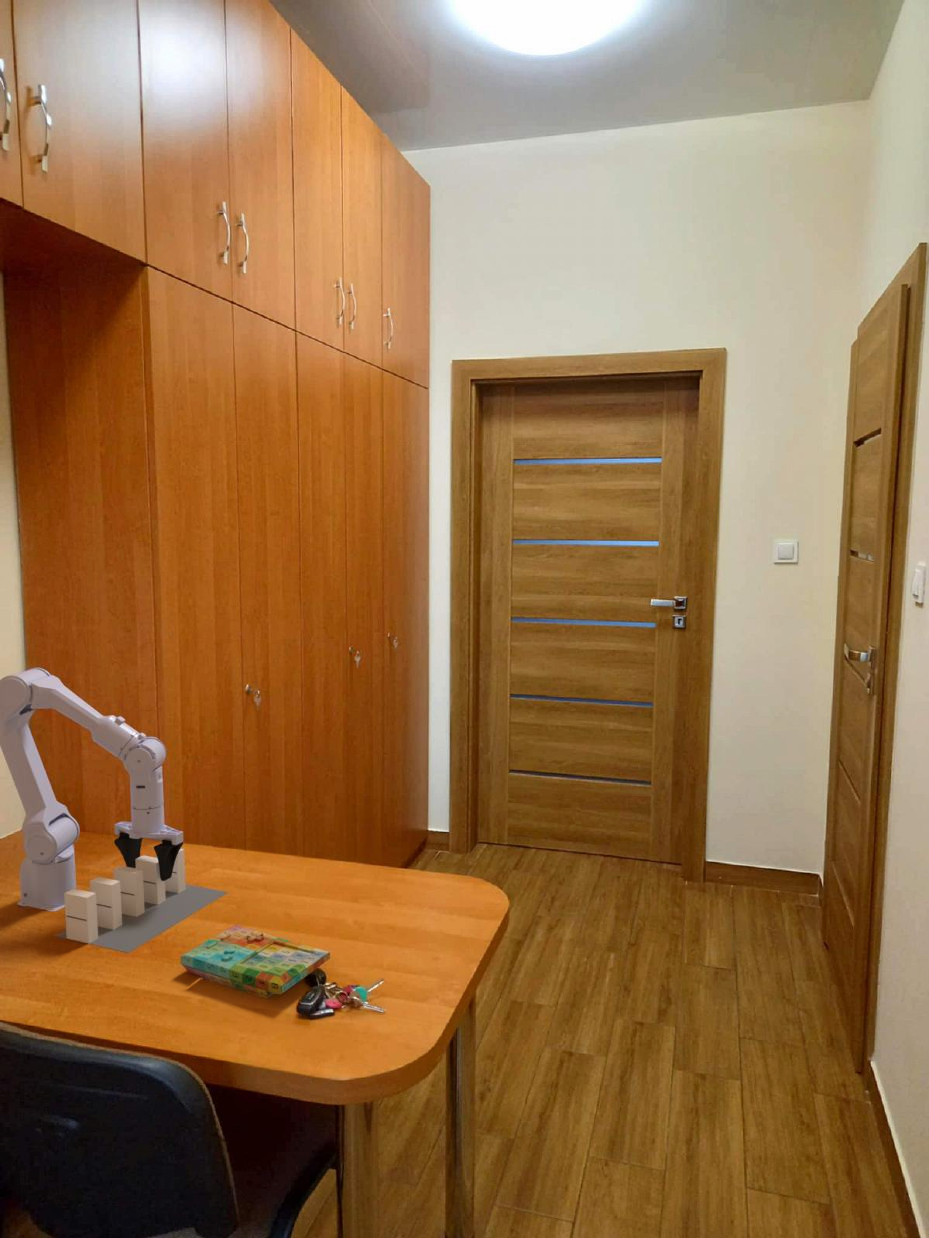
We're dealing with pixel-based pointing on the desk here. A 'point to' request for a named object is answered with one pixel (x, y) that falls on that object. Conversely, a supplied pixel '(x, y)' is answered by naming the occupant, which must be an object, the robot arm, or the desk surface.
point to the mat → (154, 919)
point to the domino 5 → (177, 875)
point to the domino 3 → (130, 890)
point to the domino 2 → (107, 902)
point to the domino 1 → (81, 915)
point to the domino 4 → (151, 880)
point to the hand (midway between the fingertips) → (150, 875)
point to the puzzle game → (253, 961)
